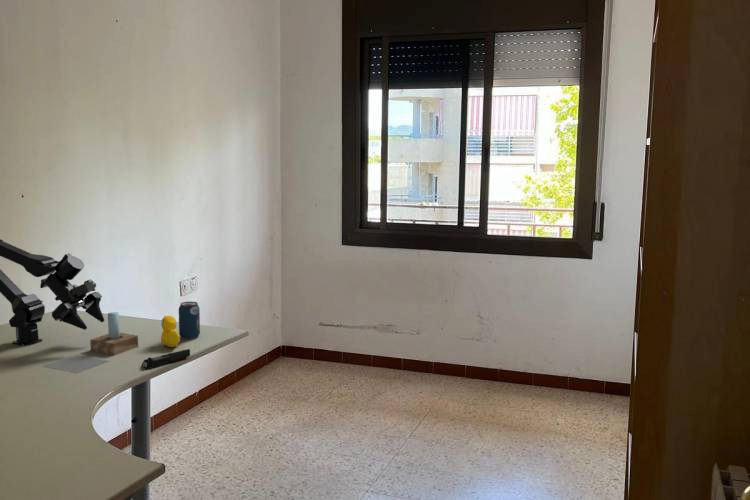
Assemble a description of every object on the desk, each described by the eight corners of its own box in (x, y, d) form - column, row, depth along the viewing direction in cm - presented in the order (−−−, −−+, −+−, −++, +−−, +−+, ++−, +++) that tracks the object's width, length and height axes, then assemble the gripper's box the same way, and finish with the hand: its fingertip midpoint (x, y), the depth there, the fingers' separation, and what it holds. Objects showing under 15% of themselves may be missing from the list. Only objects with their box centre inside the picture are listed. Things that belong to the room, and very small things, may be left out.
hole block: (90, 351, 200) (90, 339, 200) (114, 343, 210) (114, 331, 209) (114, 356, 197) (114, 343, 196) (138, 347, 206) (137, 335, 205)
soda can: (202, 338, 218) (202, 304, 216) (182, 341, 214) (182, 306, 212) (196, 333, 223) (195, 300, 221) (176, 336, 219) (175, 302, 218)
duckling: (157, 342, 211) (156, 313, 210) (173, 340, 214) (172, 311, 213) (166, 351, 202) (165, 321, 201) (183, 349, 205) (182, 319, 204)
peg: (108, 351, 201) (106, 314, 200) (111, 348, 204) (109, 312, 203) (118, 351, 202) (116, 314, 200) (121, 348, 205) (119, 312, 203)
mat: (41, 367, 185) (41, 366, 185) (75, 355, 196) (75, 354, 196) (77, 374, 180) (76, 373, 180) (109, 362, 191) (109, 361, 191)
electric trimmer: (193, 359, 196) (192, 349, 196) (147, 371, 185) (146, 360, 184) (186, 357, 199) (186, 347, 198) (140, 368, 187) (140, 357, 187)
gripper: (58, 278, 192) (92, 316, 192) (96, 268, 210) (126, 302, 210) (37, 301, 195) (70, 339, 195) (75, 289, 213) (106, 323, 213)
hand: (94, 325), depth 203 cm, fingers open, 9 cm apart
